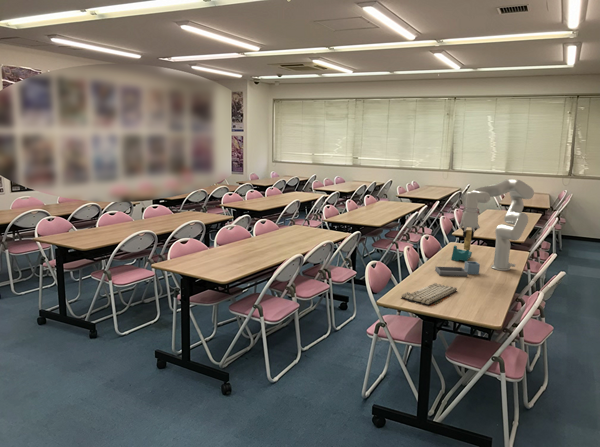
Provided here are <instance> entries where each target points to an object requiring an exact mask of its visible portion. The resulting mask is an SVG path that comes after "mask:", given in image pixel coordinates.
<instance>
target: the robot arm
mask: <svg viewBox="0 0 600 447" xmlns="http://www.w3.org/2000/svg"><path fill="white" fill-rule="evenodd" d="M507 193H509V197H510V202H511V203H510V205H509V206H508V209H507V211H506V213H505V214H504V218H503V221H504V222H505V224H504V223H501V224H498V225H497V226H496V227H495V248H494V257H493V264H491V265H490V268H491V269H493V270H497V271H505V272H507V271H510V270H511V267H516V264H515V263H510V251H511V241H518V240H519V239H520V238H521V237H522V235H523V233H524V231H525V229H526V227H527V226H528V224H529V216H528V214H526V213H525V212H523V210H524V205H525V204H524V201H523V200H530V199H532V198H533V197H534V195H535V191H534V189H533V187H531V186H530V185H528V184H527V183H526V182H524V181H523V180H520V179H515V178H513V179H512V178H507V179H504V180H502V181H500V182H497V183H495V184H489V185H485V186H481V187H477V188H475V189H473V190H471V191H467V192H466V197H465V207H464V211H463V213H462V216H461V219H460V220H461V221H460V223H459V225H458V228H460V230H462V231H463V232H462V236H463V238H464V239H465V238H466V230H467V228H471V230H472V235H471V239H473V238H474V236H475V232H476V231H477V230H479V229H480V228H481V226H480V225H479V213H478V212H479V211H480V209H479V208H478V207H479V206H478V204H487V203H488V202H489V201H490V200H491V198H493V197H500V196H503V195H505V194H507Z"/></svg>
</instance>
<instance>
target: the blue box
mask: <svg viewBox="0 0 600 447" xmlns="http://www.w3.org/2000/svg"><path fill="white" fill-rule="evenodd" d="M463 266H464V268H463V269H464V270H466V271H467V272H468V273H467V275H480V268H481V267H480V266H481V264H480V263H479V262H478V261H476V260H475V261H472V260H467V261H464V265H463Z"/></svg>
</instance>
